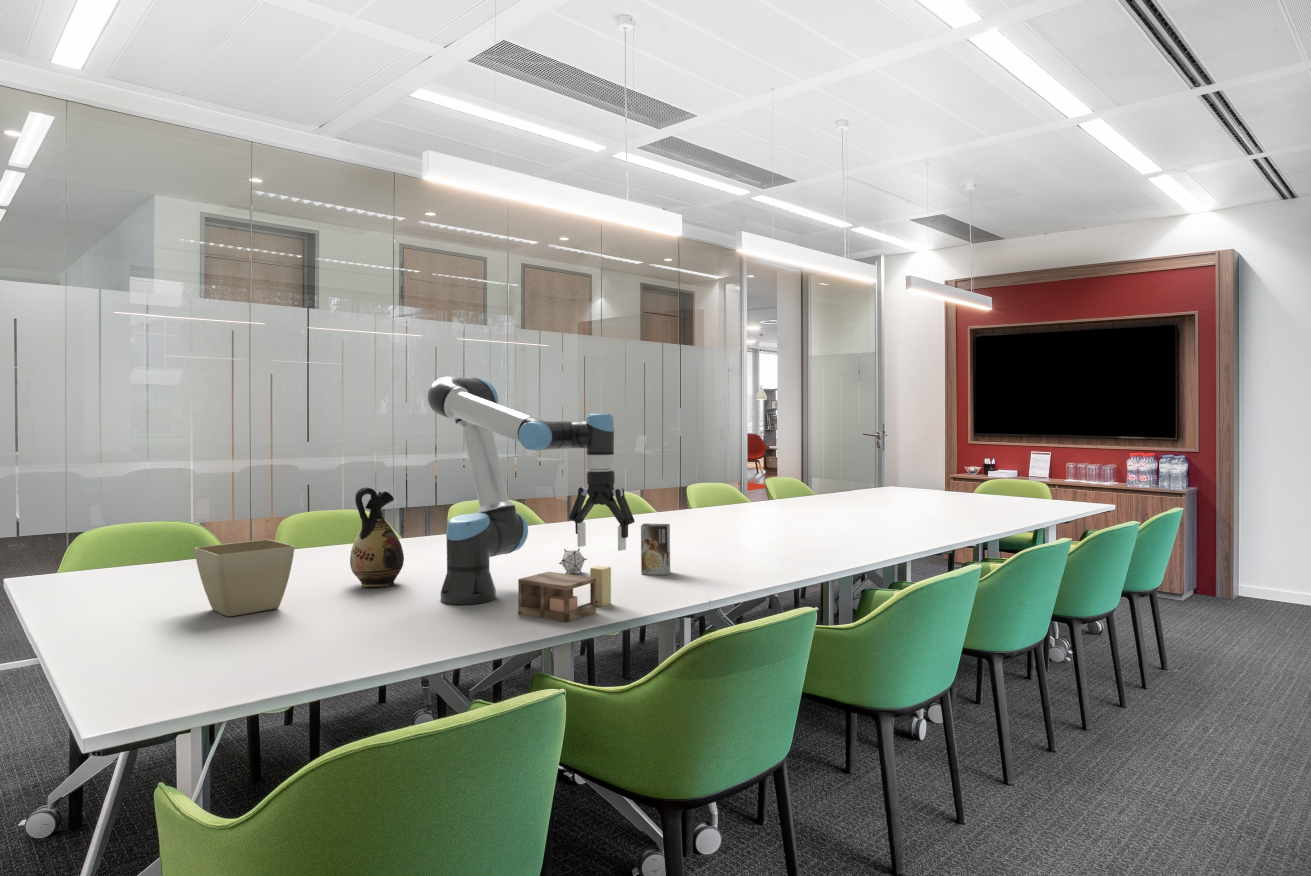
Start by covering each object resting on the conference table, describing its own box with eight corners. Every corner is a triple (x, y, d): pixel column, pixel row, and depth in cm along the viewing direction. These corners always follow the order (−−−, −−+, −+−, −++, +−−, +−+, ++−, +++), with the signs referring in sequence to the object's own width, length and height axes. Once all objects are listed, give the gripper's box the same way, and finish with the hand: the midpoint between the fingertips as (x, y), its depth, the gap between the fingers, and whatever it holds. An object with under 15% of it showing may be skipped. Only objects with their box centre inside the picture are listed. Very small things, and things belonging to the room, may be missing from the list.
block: (597, 601, 213) (597, 565, 213) (612, 603, 210) (612, 567, 210) (549, 617, 196) (549, 578, 196) (565, 620, 193) (565, 580, 193)
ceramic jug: (383, 577, 245) (383, 484, 245) (414, 583, 236) (413, 486, 236) (334, 586, 232) (334, 487, 231) (364, 593, 223) (364, 490, 222)
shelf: (548, 604, 210) (548, 571, 209) (595, 612, 201) (595, 577, 201) (518, 613, 199) (518, 579, 199) (566, 622, 191) (566, 586, 191)
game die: (576, 585, 252) (580, 564, 246) (553, 575, 253) (556, 554, 247) (588, 567, 259) (592, 547, 253) (565, 558, 260) (569, 537, 254)
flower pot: (193, 609, 204) (192, 546, 203) (268, 597, 217) (268, 538, 217) (218, 622, 191) (217, 554, 190) (296, 609, 205) (296, 545, 204)
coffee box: (671, 571, 256) (671, 523, 255) (668, 575, 249) (668, 526, 249) (643, 570, 257) (643, 522, 257) (640, 574, 251) (640, 525, 250)
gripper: (646, 470, 206) (647, 549, 206) (573, 468, 219) (573, 542, 220) (631, 472, 200) (631, 553, 200) (556, 470, 213) (557, 546, 213)
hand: (601, 548), depth 210 cm, fingers open, 13 cm apart
